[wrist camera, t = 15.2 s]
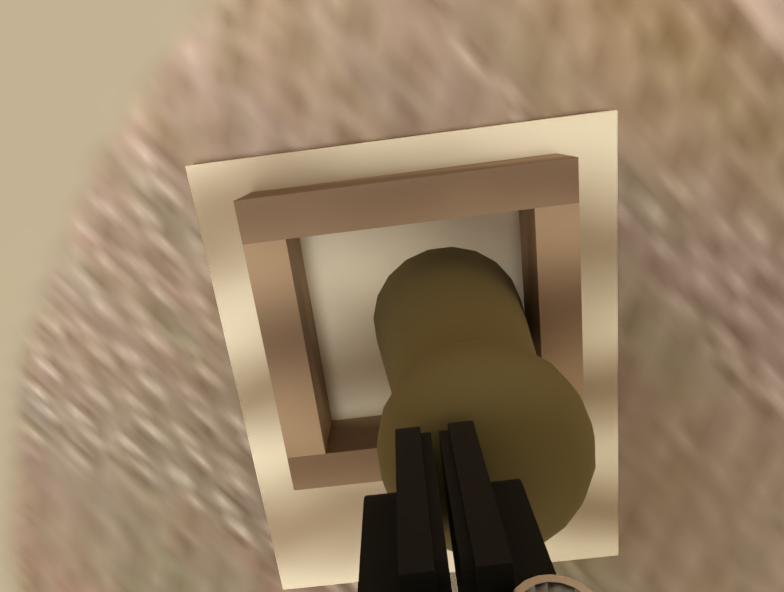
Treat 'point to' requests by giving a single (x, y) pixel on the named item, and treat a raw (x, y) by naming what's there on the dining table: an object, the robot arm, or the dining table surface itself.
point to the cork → (480, 382)
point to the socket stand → (365, 280)
